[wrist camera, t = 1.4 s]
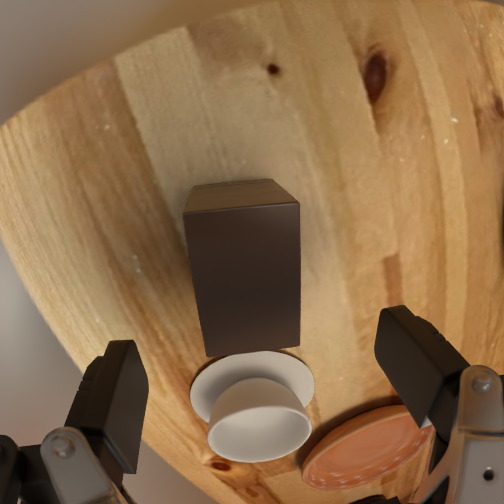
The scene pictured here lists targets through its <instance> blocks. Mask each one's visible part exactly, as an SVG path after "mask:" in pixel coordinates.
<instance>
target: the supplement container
mask: <svg viewBox="0 0 504 504" xmlns="http://www.w3.org/2000/svg"><path fill="white" fill-rule="evenodd" d="M385 500H387V498H385V497H383V496H375V497H370V498H367V499H364V500H361V501H358V502H355V503H353V504H377V503H380V502H383V501H385Z"/></svg>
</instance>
